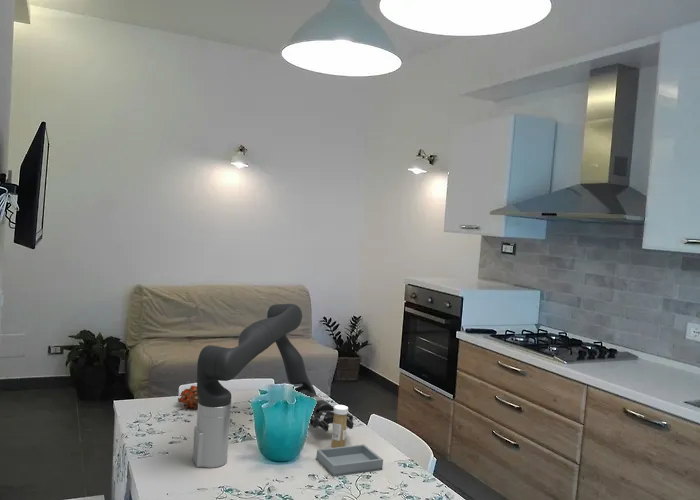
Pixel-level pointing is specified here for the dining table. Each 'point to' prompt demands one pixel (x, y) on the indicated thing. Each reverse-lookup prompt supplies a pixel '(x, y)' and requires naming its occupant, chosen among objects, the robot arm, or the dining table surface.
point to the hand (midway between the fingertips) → (339, 427)
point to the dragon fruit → (189, 397)
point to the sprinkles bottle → (339, 426)
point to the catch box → (349, 460)
